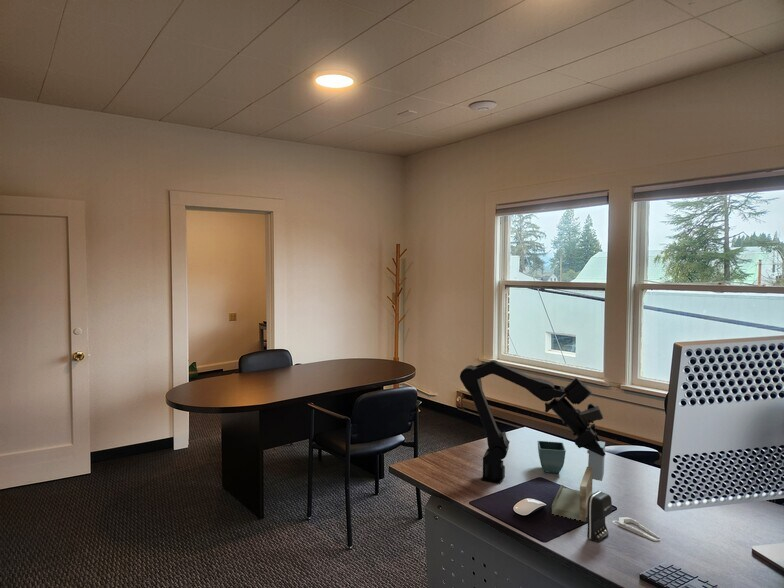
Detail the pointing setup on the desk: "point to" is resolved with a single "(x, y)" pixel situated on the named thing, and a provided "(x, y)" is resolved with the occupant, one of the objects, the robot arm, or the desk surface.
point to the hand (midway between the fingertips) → (604, 451)
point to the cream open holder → (574, 499)
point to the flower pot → (551, 456)
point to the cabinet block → (597, 462)
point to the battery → (598, 515)
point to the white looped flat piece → (623, 524)
